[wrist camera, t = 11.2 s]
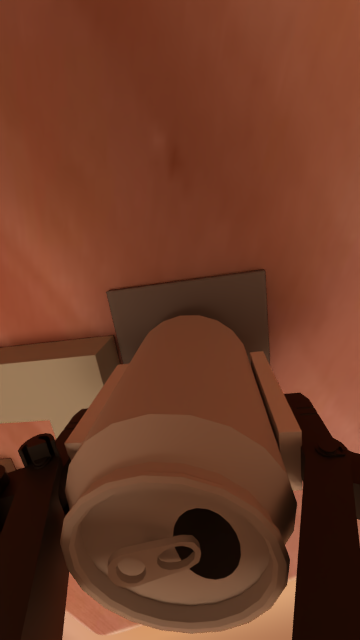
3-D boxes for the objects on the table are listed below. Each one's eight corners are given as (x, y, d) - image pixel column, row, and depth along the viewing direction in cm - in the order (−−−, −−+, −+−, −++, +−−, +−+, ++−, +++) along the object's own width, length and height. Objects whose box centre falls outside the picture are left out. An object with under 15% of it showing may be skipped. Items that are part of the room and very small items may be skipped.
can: (253, 401, 19) (327, 660, 7) (153, 413, 20) (82, 652, 8) (239, 301, 16) (310, 449, 5) (127, 321, 18) (-15, 477, 6)
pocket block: (-84, 356, 23) (-133, 377, 19) (113, 335, 20) (95, 354, 17) (-9, 508, 28) (-38, 544, 25) (154, 505, 25) (146, 545, 22)
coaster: (109, 290, 19) (106, 292, 19) (263, 269, 18) (265, 270, 17) (138, 415, 22) (136, 420, 22) (270, 407, 21) (272, 411, 20)
